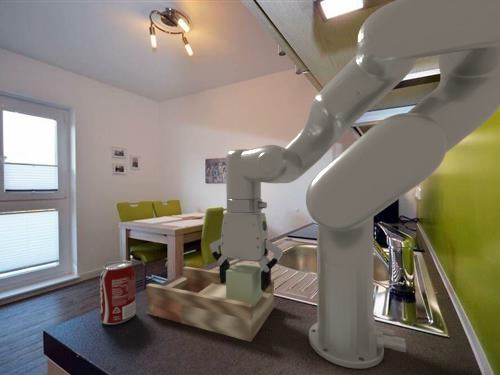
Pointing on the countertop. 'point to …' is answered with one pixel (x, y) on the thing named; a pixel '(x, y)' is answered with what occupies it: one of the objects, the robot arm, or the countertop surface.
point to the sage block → (244, 283)
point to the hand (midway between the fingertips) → (244, 284)
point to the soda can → (117, 292)
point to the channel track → (208, 304)
